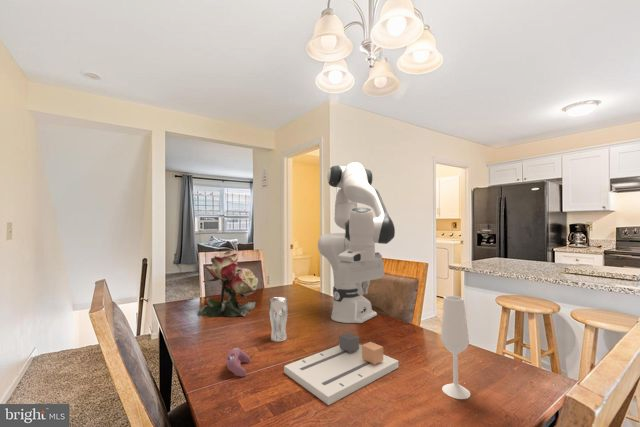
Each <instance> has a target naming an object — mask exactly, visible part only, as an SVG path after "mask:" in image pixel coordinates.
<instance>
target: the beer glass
mask: <svg viewBox="0 0 640 427" xmlns="http://www.w3.org/2000/svg"><path fill="white" fill-rule="evenodd" d="M268 309H269V311H268V312H269V319H270V325H271V326H270V327H271V334H270V341H272V342H278V343H279V342H283V341H285V340H287V338H288V336H287V328H286V327H287V320H288V309H289V306H288V297H285V296H274V297H272V298H269V308H268Z"/></svg>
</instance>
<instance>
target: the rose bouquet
mask: <svg viewBox="0 0 640 427" xmlns="http://www.w3.org/2000/svg"><path fill="white" fill-rule="evenodd" d="M237 255H238V254H237V253H236V252H235V251H233V250H227V251H225V252H223V253H221V254H219V256H217V255H215V256H214V257H212V258H211V259H210V262H211V265H207V266H204V268H205V269H206V270H207V271H208V272H209V274H210V275H211V276H212V277H213V278H209V279H205V280H202V283H206V282H216V281H219V280H221V282H220V283H219V284H221V291H220V292H221V293H220V301H218V300H214V299H212V298H208V297H207V298H206V299H205V301H207V304H208V305H203V306H202V308H200V309H198V313H197V317H200V316H202V317H201V318H204V317H208V318H212V317H213V318H220V317H231V318H232V317H235V318H236V317H240V316H243V317H246V316H247V315H246V314H247V313H248V315H249V314H250V315H251V313H250V312H249V311H253V310H254V309H255V308H256V301H252V302H251V301H248V302H245V303H246V304H243V305H241V303H238V300H237V298H236V297H237V296H236V295H237V294H238V295H239V296H240V298H242V299H245V301H247V297H249V296H252V295H254V294H256V290H257V288H258V283H259V277H256V275H255V274H254V272H253V271H252V270H251V269H249V268H245V267H239V266H238V265H239V261H238V258H239V256H237ZM225 296H227V297H228V299H227V300H224V297H225ZM238 304H239V305H238ZM242 312H243V313H242Z"/></svg>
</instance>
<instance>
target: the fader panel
mask: <svg viewBox="0 0 640 427" xmlns="http://www.w3.org/2000/svg"><path fill="white" fill-rule="evenodd" d="M362 345H363V344H361V343H359V350H356V351H354V352H351V353H349V352H347V351H345V350H343V349H341V348H340V344H338V345H336V346H334V347H331V348H328V349H325V350H323V351H320V352H317V353H314V354H312V355H310V356H307V357H304V358H301V359H299V360H296V361H292V362H290V363H288V364H286V365H283V366H284V367H283V374H285V375H286V376H288V377H289V378H291V379H292V380H294V382H296V383H297V384H299V385H301V387H303V388H304V389H305V390H307V391H308V392H309V393H311V394H312V395H314V396H315V397H317V398H318V399H319V400H321V401H322V402H323V403H324V404H326V405H327V406H330V405H331V404H334V403H336V402H337V401H339V400H341V399H342V398H345V397H346V396H349V395H350V394H352V393H354V392H356V391H358V390H360V389H362V388H364V387H365V386H368V385H369V384H371V383H373V382H375V381H376V380H378V379H380V378H382V377H384V376H386V375H388V374H389V373H391V372H393V371H395V370H397V369H398V368H399V367H400V366H399V362H400V361H399V359H398V360H397V359H395V358H393V357H391V356H388V355H386V354H384V353H383V361H381V362H379V363H377V364H372V363H370V362H368V361H366V360H364V359H362Z"/></svg>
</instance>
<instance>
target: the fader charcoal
mask: <svg viewBox="0 0 640 427" xmlns="http://www.w3.org/2000/svg"><path fill="white" fill-rule="evenodd" d="M338 339H339V341H338V342H339V345H340V348H341V349H343V350H345V351H347V352H349V353H351V352H354V351H356V350H359V344H360V336H357V335H355V334H352V333H350V332H346V333H343V334H340V335H339V338H338Z"/></svg>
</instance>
